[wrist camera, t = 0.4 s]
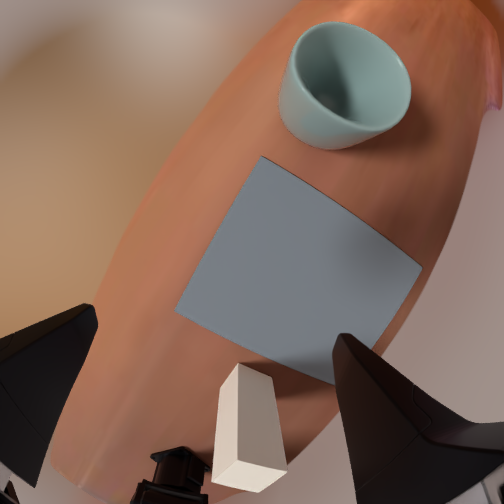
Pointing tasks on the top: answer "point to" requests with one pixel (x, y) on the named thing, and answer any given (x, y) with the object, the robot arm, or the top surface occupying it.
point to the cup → (342, 87)
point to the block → (248, 433)
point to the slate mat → (296, 275)
